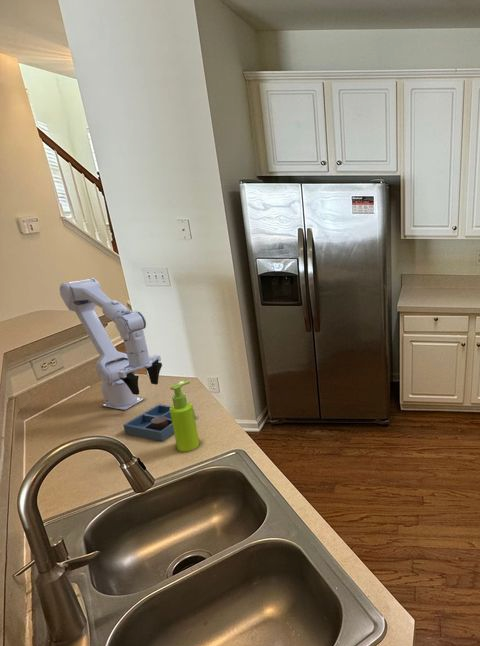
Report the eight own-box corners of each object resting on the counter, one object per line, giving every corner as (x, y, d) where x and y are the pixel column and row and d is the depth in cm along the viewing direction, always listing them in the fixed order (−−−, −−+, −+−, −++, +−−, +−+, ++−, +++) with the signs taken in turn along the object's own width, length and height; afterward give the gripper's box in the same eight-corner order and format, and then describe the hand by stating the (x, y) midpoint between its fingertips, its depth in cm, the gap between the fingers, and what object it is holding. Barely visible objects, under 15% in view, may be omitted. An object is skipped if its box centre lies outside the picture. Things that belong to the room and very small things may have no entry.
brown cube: (150, 433, 132) (147, 422, 130) (161, 426, 136) (158, 415, 134) (161, 435, 131) (159, 424, 129) (172, 428, 135) (170, 417, 133)
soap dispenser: (206, 440, 130) (195, 381, 123) (188, 453, 124) (176, 391, 117) (190, 436, 132) (179, 377, 125) (172, 449, 126) (159, 388, 119)
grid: (125, 433, 133) (123, 425, 132) (160, 411, 145) (159, 403, 144) (162, 441, 129) (160, 432, 128) (195, 418, 142) (193, 410, 141)
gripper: (127, 360, 128) (136, 400, 133) (165, 344, 141) (172, 381, 146) (108, 357, 130) (118, 397, 135) (147, 341, 143) (155, 378, 148)
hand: (145, 388), depth 141 cm, fingers open, 7 cm apart
